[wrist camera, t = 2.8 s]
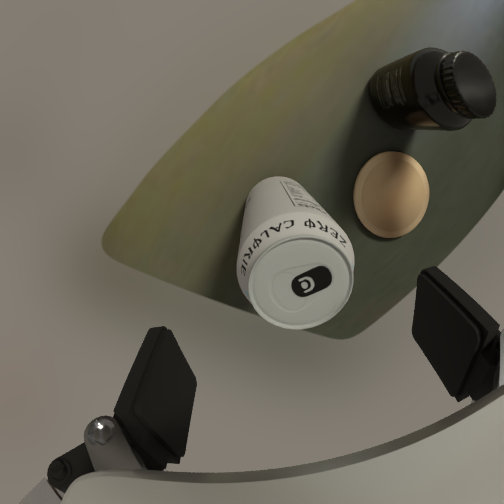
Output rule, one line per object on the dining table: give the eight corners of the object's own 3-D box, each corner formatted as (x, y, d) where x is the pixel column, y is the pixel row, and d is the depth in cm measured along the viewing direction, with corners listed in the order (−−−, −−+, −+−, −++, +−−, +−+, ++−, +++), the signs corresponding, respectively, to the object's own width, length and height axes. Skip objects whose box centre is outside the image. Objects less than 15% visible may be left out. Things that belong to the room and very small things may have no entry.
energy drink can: (234, 192, 25) (208, 260, 12) (292, 164, 24) (340, 197, 10) (263, 246, 27) (269, 354, 14) (318, 220, 26) (378, 307, 13)
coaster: (422, 147, 23) (425, 148, 22) (427, 228, 26) (430, 229, 26) (346, 156, 24) (348, 157, 23) (357, 243, 27) (359, 245, 27)
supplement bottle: (409, 142, 23) (490, 155, 12) (356, 104, 22) (425, 86, 11) (431, 93, 20) (510, 85, 9) (381, 53, 19) (450, 18, 8)
